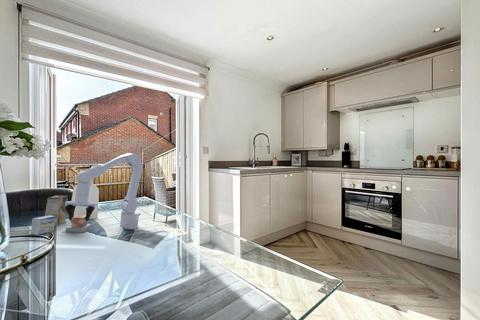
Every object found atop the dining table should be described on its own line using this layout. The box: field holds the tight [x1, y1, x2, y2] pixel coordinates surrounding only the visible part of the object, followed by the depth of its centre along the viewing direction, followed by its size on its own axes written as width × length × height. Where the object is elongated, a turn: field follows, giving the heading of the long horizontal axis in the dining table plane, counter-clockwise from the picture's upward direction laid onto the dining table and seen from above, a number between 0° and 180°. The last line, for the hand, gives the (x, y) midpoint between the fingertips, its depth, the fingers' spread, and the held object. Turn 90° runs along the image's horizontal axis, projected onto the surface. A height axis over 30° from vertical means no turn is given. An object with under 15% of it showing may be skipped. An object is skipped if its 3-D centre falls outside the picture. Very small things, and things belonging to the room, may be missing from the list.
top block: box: [64, 223, 92, 232], centre depth 121 cm, size 8×8×2 cm
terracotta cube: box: [70, 215, 88, 228], centre depth 121 cm, size 5×5×5 cm
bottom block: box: [62, 227, 93, 234], centre depth 120 cm, size 10×10×2 cm
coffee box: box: [44, 194, 69, 227], centre depth 127 cm, size 9×6×16 cm
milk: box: [71, 180, 100, 220], centre depth 148 cm, size 12×12×26 cm
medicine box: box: [30, 215, 56, 236], centre depth 113 cm, size 8×4×9 cm, turn 168°
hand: (79, 220), depth 121 cm, fingers open, 7 cm apart
